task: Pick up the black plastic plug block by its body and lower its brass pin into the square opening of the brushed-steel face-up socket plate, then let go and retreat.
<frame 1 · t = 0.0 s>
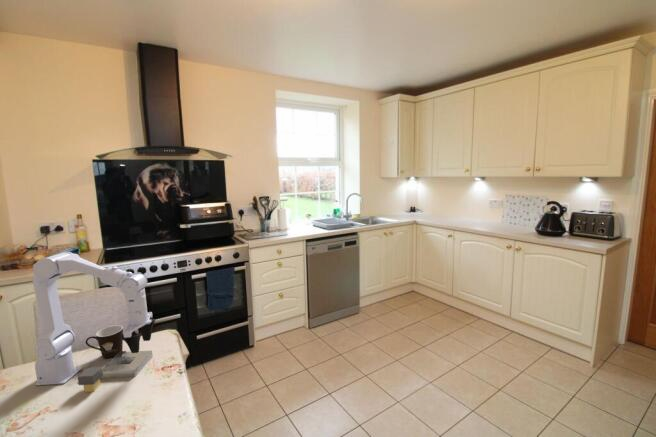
hand: (141, 346, 107), 10 cm above the table, fingers open, 7 cm apart
coffee mug: (109, 355, 120), on the table
socket: (127, 366, 112), on the table
plug: (92, 388, 101), on the table
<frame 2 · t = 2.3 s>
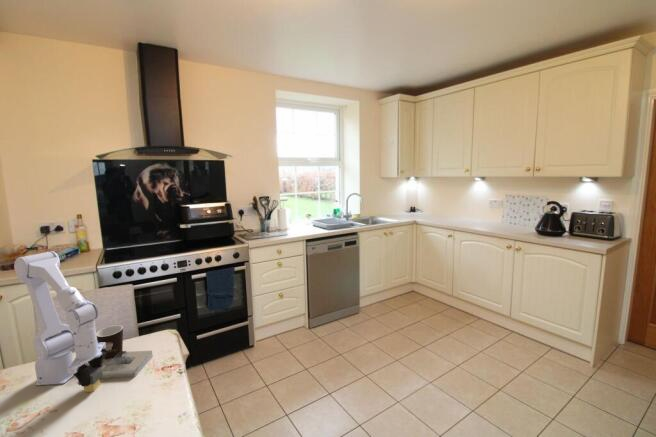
hand: (91, 380, 101), 3 cm above the table, fingers closed on plug, 4 cm apart
plug: (92, 388, 101), on the table, touching gripper
everything else where it was.
when the fingers open (3 cm above the table, at t = 6.1 s): plug stays where it is, resting in socket.
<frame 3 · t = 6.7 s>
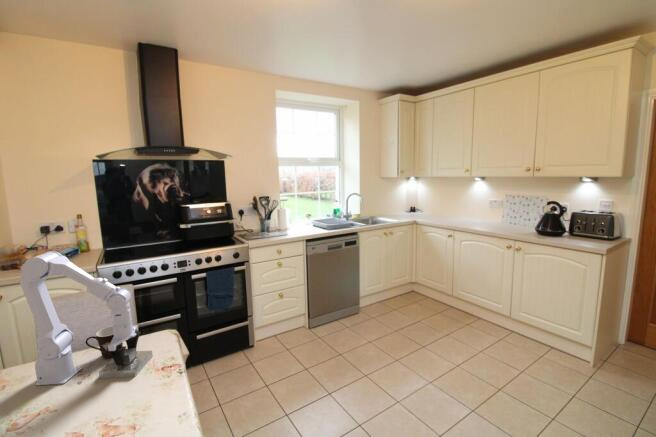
hand: (126, 358, 112), 3 cm above the table, fingers open, 7 cm apart
plug: (127, 367, 112), resting in socket
everything else where it was.
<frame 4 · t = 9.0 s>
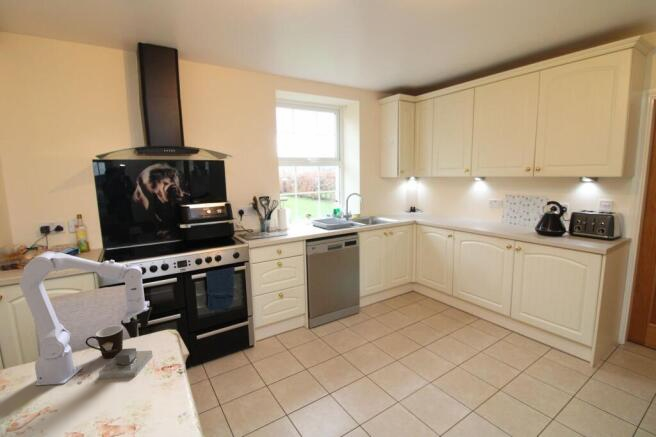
hand: (139, 331, 117), 10 cm above the table, fingers open, 7 cm apart
nothing on the table moved.
at the end: plug 0.2 cm off-centre on the socket, point 0.0 cm above the socket's base; plug tilted 0°; the gripper is holding nothing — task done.
